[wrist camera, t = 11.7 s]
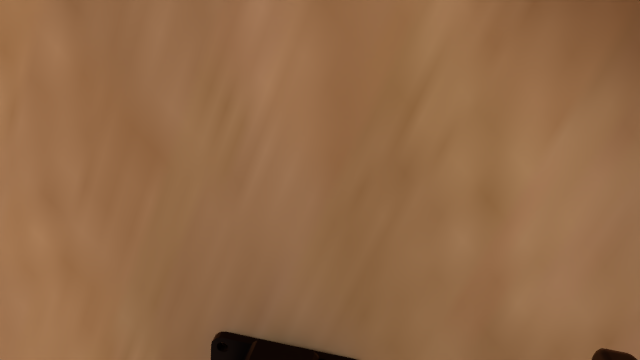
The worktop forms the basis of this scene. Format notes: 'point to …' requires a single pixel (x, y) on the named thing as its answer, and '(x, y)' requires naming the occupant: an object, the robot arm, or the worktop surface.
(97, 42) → the worktop surface
